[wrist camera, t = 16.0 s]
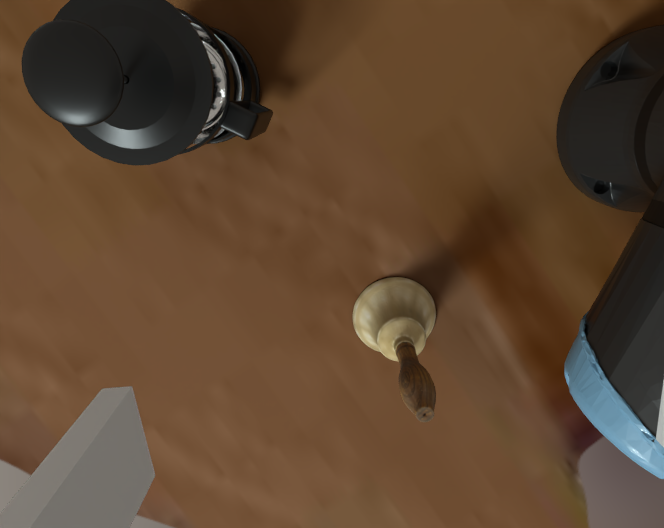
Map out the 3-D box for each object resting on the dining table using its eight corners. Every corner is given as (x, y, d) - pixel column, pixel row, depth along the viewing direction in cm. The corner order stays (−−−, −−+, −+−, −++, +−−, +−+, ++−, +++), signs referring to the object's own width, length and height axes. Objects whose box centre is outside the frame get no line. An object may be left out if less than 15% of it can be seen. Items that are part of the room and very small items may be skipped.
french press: (128, 110, 42) (-87, 123, 21) (164, 1, 40) (-40, -118, 18) (253, 169, 44) (176, 238, 22) (296, 68, 41) (256, 34, 20)
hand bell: (443, 281, 48) (494, 367, 32) (427, 356, 50) (468, 467, 35) (358, 271, 47) (371, 353, 32) (347, 347, 50) (353, 456, 35)
